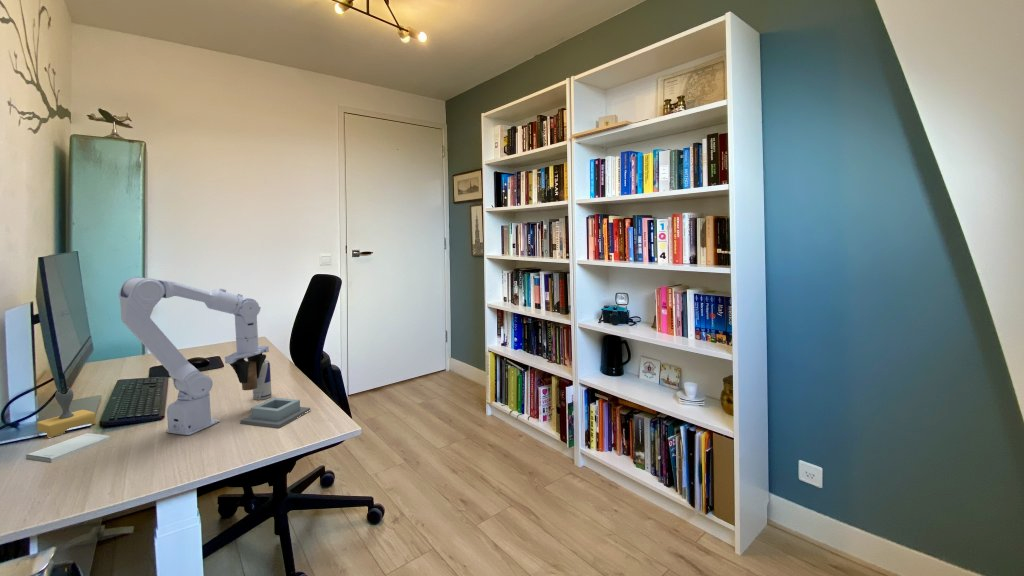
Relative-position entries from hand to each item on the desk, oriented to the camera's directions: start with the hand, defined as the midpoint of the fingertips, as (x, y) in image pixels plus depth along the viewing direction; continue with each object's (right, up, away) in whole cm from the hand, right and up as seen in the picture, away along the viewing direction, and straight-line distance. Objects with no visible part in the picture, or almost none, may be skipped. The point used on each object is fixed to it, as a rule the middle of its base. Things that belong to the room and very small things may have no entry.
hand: (249, 380), depth 134 cm
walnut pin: (0, -2, 0) cm, 2 cm away
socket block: (+11, -10, -4) cm, 15 cm away
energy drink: (-3, -8, +12) cm, 15 cm away
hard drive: (-30, -13, -25) cm, 41 cm away
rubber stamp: (-42, -11, -14) cm, 45 cm away
